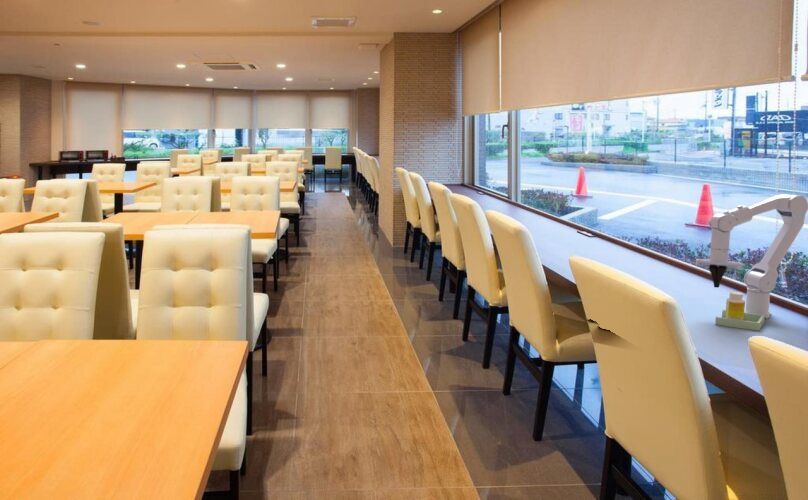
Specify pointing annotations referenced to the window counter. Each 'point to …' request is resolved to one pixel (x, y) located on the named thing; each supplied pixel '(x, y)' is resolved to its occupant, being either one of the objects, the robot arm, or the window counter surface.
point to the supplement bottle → (735, 306)
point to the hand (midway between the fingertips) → (716, 286)
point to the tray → (742, 321)
